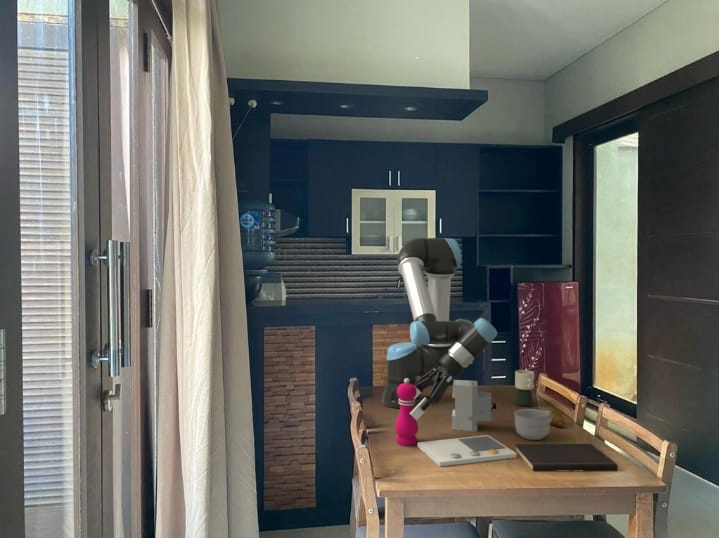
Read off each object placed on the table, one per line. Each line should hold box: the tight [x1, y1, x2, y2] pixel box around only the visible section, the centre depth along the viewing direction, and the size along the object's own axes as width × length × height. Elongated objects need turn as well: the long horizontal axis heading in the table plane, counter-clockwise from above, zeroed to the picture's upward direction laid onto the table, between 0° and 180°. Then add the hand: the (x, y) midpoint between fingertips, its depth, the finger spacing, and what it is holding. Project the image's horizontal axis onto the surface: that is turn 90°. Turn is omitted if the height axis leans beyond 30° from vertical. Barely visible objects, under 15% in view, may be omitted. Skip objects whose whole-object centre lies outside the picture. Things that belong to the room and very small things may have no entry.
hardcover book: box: [514, 443, 619, 472], centre depth 151 cm, size 16×23×2 cm
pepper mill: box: [394, 378, 419, 447], centre depth 164 cm, size 7×7×20 cm
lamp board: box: [416, 434, 518, 468], centre depth 157 cm, size 16×24×2 cm, turn 106°
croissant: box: [548, 408, 565, 429], centre depth 185 cm, size 14×7×5 cm, turn 2°
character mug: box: [514, 369, 535, 407], centre depth 206 cm, size 11×7×13 cm, turn 7°
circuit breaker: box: [451, 379, 497, 432], centre depth 179 cm, size 8×14×15 cm, turn 78°
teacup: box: [513, 408, 553, 441], centre depth 170 cm, size 14×11×8 cm
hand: (408, 410), depth 163 cm, fingers open, 13 cm apart
